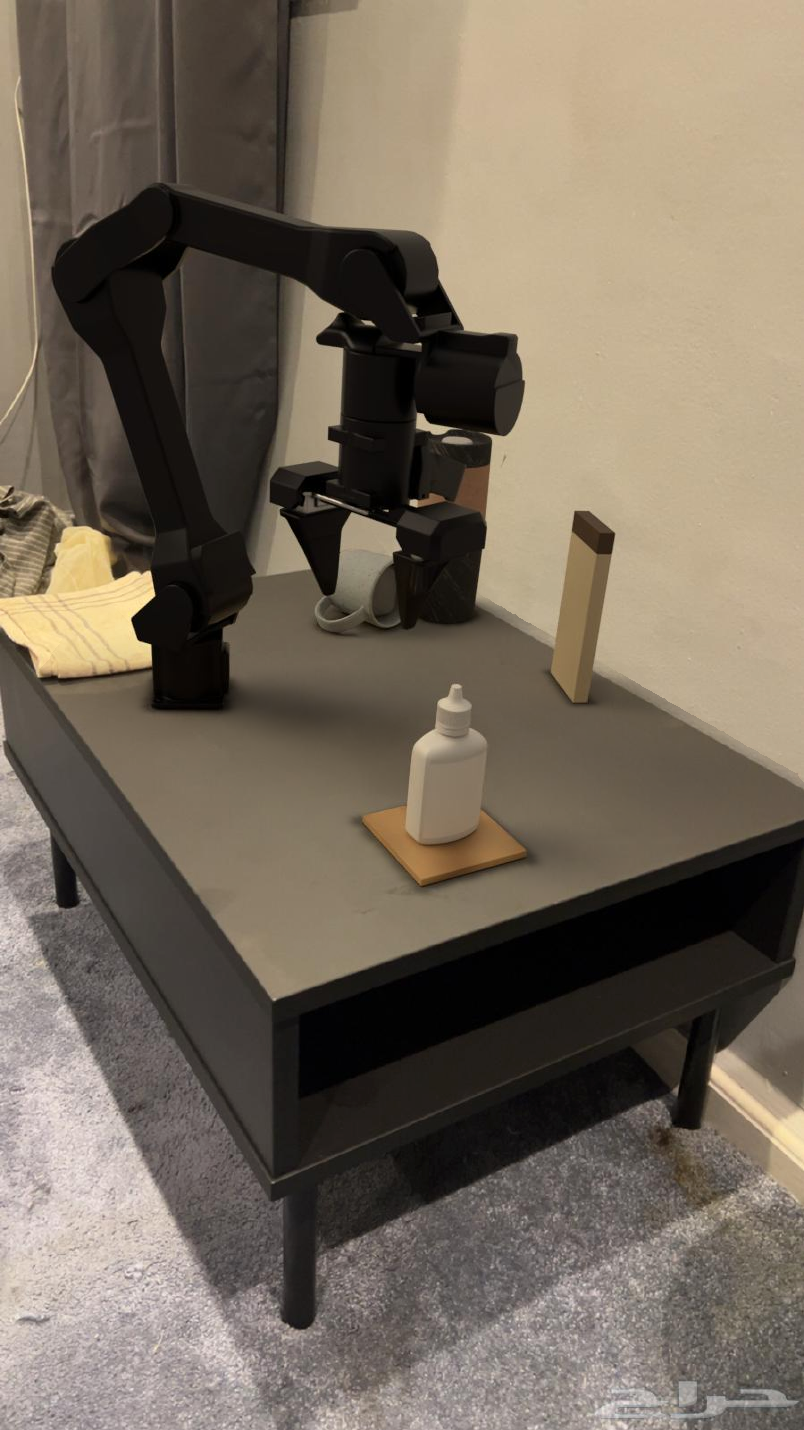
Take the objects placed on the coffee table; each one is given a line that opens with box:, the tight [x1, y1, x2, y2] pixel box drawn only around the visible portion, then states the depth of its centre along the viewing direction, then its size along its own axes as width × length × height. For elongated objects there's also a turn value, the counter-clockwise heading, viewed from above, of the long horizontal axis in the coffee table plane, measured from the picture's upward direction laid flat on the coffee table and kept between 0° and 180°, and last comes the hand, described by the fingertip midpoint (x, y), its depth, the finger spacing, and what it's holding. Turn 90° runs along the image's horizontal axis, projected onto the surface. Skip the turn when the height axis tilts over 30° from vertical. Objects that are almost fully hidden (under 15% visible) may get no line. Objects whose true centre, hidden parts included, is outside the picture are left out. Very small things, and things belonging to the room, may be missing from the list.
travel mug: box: [416, 428, 493, 624], centre depth 116 cm, size 8×8×20 cm
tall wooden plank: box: [550, 510, 616, 704], centre depth 101 cm, size 2×7×17 cm, turn 10°
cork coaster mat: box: [362, 804, 528, 887], centre depth 79 cm, size 9×9×1 cm
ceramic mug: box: [314, 548, 401, 633], centre depth 115 cm, size 11×8×8 cm
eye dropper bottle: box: [405, 683, 488, 845], centre depth 76 cm, size 4×6×12 cm
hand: (367, 611), depth 85 cm, fingers open, 9 cm apart
